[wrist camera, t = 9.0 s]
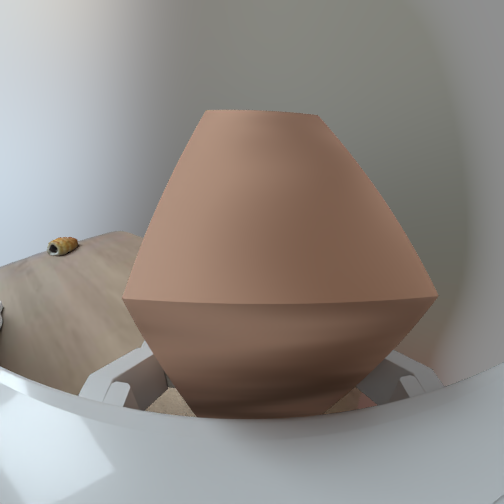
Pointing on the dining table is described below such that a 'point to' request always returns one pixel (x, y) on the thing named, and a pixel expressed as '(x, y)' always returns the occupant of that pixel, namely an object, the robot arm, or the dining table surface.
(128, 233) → the dining table surface
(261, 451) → the robot arm
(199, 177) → the block
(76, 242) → the pastry
